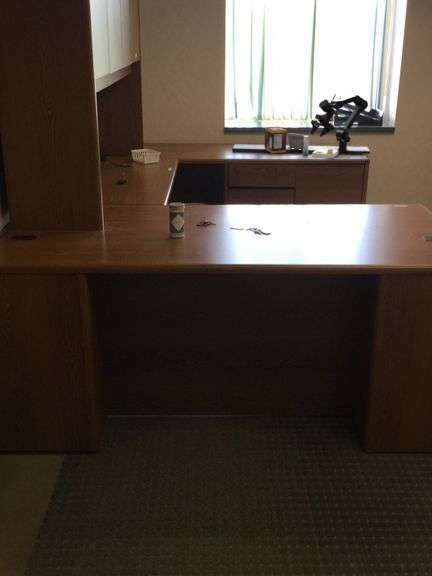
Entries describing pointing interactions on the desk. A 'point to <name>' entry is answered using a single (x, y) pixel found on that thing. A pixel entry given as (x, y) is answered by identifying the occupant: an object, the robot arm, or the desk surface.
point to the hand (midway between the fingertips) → (315, 135)
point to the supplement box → (275, 139)
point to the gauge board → (325, 153)
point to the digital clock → (296, 140)
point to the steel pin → (305, 145)
